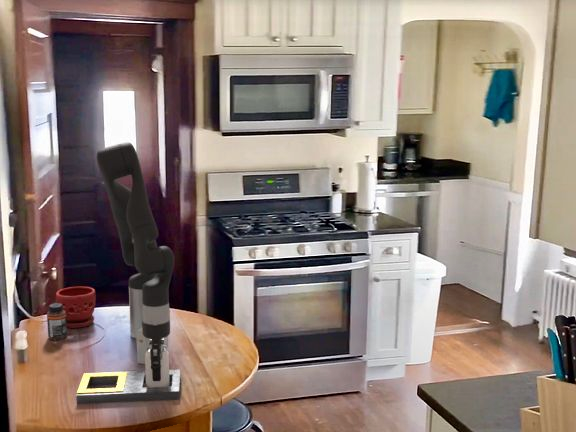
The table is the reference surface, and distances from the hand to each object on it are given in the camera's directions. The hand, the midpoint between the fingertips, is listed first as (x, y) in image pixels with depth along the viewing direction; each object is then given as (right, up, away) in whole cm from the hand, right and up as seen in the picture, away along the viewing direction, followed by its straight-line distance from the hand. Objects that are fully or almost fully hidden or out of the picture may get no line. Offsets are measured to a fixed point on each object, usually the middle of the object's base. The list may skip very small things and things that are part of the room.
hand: (157, 374), depth 196 cm
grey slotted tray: (-7, -4, 0) cm, 9 cm away
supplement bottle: (-40, +4, +37) cm, 55 cm away
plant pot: (-37, +7, +50) cm, 63 cm away
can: (0, -4, +1) cm, 4 cm away
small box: (-5, -1, +19) cm, 20 cm away
